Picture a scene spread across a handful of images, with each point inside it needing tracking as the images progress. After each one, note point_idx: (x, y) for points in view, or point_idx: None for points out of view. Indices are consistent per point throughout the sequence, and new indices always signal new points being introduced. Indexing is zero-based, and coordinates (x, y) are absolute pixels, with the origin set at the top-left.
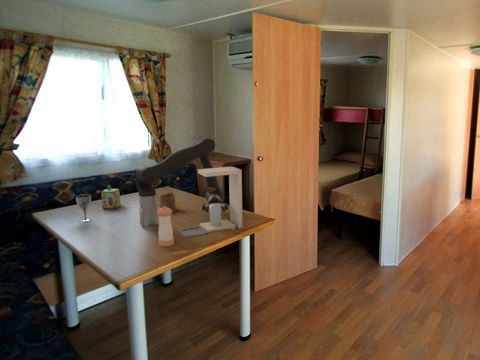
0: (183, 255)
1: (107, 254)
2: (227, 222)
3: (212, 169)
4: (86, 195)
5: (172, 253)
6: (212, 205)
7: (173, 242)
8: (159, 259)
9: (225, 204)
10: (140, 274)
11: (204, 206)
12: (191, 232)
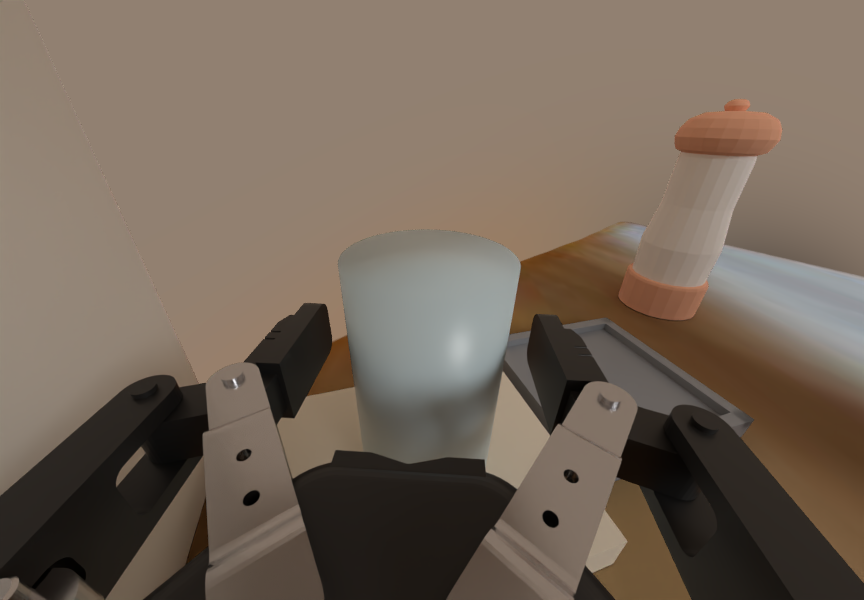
0: (543, 257)
1: (821, 282)
2: None
3: None
4: None
5: (586, 266)
6: (470, 248)
7: (623, 285)
8: (604, 252)
9: (88, 476)
10: (604, 228)
11: (718, 530)
12: (606, 377)
